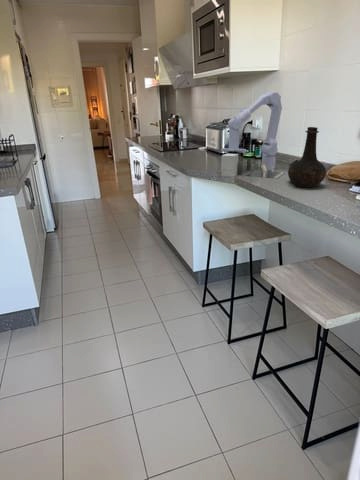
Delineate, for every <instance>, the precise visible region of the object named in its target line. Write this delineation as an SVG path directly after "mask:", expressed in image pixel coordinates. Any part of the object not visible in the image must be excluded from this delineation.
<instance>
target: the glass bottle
mask: <svg viewBox="0 0 360 480" xmlns="http://www.w3.org/2000/svg"><path fill="white" fill-rule="evenodd" d="M305 133H306V139H305V145H304V149H303V153H302V156H301V158H300V159H299V160H298V159H295V160H294V161H293V162H291V163H290V165H289V167H288V170H287V175H288V179H289V180H290V182H291V183H292V184H294V185H295V186H296V187H301V188H313V187H317V186H318V185H319V184H321V183H322V182H323V181H324V180H325V177H326V175H327V170H326V166H325V165H324V164H323V163H321V162H320V161H319V160H318V157H317V136H318V134H319V133H320V131H318V127H314V126H307V130H306V131H305Z"/></svg>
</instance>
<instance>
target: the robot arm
mask: <svg viewBox="0 0 360 480" xmlns="http://www.w3.org/2000/svg"><path fill="white" fill-rule="evenodd" d="M281 99H282V95H280V93H279V92H278V91H265V92H264V93H263V94H261V95H260V96H259V97H258V98H257V99H256V100H255V101H254V102H253V103H252V104H251V105H249V107H248V108H243V109H241V110H240V112H239V113H238V114H236V115H235V116H234V117H233V118H231V119H229V121H228V123H227V128H228V129H229V132H228V147H222V148H221V150H220V151H221V153H227V154H238V155H239V154H240V153H241V154H246V153H247V148H239V147H240V129H241V128H242V126H243V124H244V123H245V122H247V121H248V120H249V119H250V118H251V116H252V114H253V113H254V112H255V111H257V110H258V109H259V108H260V107H262V106H263V105H264V106H265V105H266V106H268V108H269V109H270V116H269V117H270V118H269V121H268V127H267V131H266V132H267V133H266V138H265V139H264V140H263V141H262V142H263V143H262V144H261V146H260V152H261V154H262V157H261V158H262V159H261V165H262V164H265V167H266V170H267V171H270V168H271V167H274V169H275V168H276V155H277V153H278V142H277V140H276V138H277V133H278V128H279V124H280V118H281V115H282V110H283V109H282V108H283V107H282V102H281V101H282V100H281Z"/></svg>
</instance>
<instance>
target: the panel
mask: <svg viewBox="0 0 360 480" xmlns="http://www.w3.org/2000/svg"><path fill="white" fill-rule="evenodd" d="M285 174H286V172H284V171H281V172H280V171H279V172H278V171H275V168H274V167H271V168H270V170H267V171H264V172H263V170H257V169H255V170H253V171H252V172H249V173H248V174H247V175H245V177H251V178H252V177H254V178H262V179H263V178H265V179H276V180H277V179H280V178H281V177H282V176H284V175H285Z"/></svg>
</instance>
